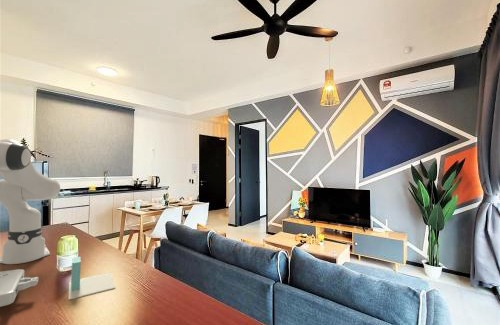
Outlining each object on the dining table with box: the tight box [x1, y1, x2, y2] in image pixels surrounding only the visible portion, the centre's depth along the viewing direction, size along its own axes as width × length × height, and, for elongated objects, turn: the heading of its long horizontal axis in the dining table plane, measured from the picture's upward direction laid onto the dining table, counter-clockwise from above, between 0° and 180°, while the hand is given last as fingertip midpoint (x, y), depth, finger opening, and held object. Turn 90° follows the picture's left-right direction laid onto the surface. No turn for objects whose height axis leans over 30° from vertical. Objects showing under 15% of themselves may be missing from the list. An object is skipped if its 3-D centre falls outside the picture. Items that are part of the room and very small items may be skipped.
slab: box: [70, 256, 82, 291], centre depth 89 cm, size 6×3×10 cm, turn 36°
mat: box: [68, 271, 116, 301], centre depth 91 cm, size 15×14×1 cm
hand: (37, 280), depth 83 cm, fingers closed
